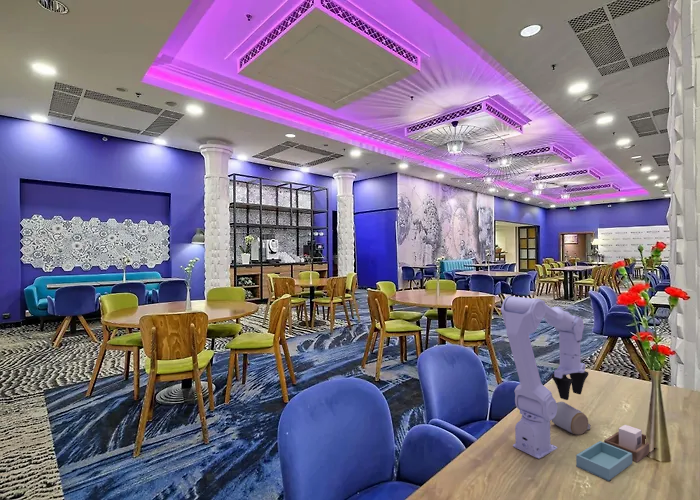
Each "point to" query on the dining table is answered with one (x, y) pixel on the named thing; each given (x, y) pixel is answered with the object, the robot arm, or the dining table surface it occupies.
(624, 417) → the dining table surface
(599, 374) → the dining table surface
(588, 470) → the teal tray
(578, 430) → the ceramic mug
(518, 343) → the robot arm
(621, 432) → the letter block
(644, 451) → the walnut tray
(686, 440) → the dining table surface
